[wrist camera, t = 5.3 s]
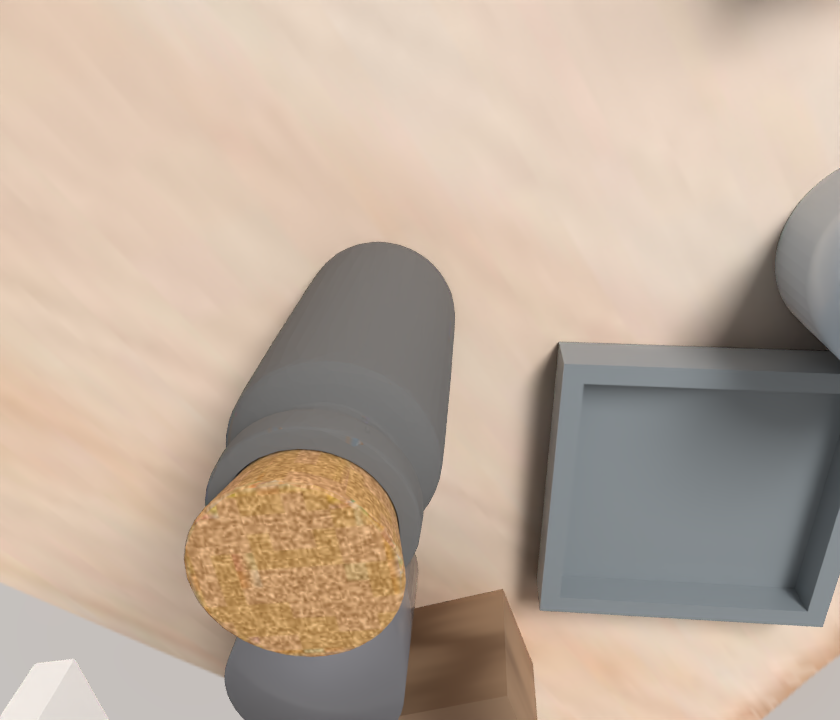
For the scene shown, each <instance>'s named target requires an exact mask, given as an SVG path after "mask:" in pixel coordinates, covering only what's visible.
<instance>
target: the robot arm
mask: <svg viewBox="0 0 840 720" xmlns="http://www.w3.org/2000/svg"><path fill="white" fill-rule="evenodd" d="M0 720H109V718H108V717H107V715H106V713H105V711H104V710H103V708H102V706H101V704H100V703H99V701H98V699H97V697H96V695H95V694H94V692H93V690H92V688H91V687H90V685H89V683H88V681H87V680H86V678H85V676H84V674H83V672H82V671H81V669H80V667H79V665H78V664H77V662H76V660H75V659H68V660H60V661H51V662H42V663H35V664H34V665H33V667H32V668H31V670H30V672H29V673H28V675H27V676H26V678H25V679H24V681H23V682H22V684H21V685H20V687H19V688H18V690H17V691H16V693H15V694H14V696H13V697H12V699H11V700H10V702H9V703H8V705H7V706H6V708H5V710H4V711H3V713H2V714H1V716H0Z"/></svg>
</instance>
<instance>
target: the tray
mask: <svg viewBox="0 0 840 720" xmlns="http://www.w3.org/2000/svg"><path fill="white" fill-rule="evenodd" d="M839 575H840V360H839V359H838V358H837V357H836V356H835V355H834V354H833V353H832V352H831V351H810V350H781V349H752V348H723V347H694V346H665V345H637V344H608V343H579V342H559V347H558V358H557V368H556V379H555V389H554V400H553V411H552V421H551V432H550V442H549V453H548V464H547V474H546V485H545V495H544V506H543V517H542V527H541V538H540V548H539V559H538V570H537V587H538V598H539V608H540V610H542V611H559V612H576V613H593V614H610V615H627V616H644V617H661V618H678V619H695V620H712V621H729V622H746V623H763V624H780V625H797V626H814V627H823V624H824V621H825V618H826V615H827V612H828V609H829V606H830V603H831V599H832V596H833V593H834V590H835V587H836V584H837V581H838V578H839Z"/></svg>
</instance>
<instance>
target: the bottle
mask: <svg viewBox="0 0 840 720" xmlns="http://www.w3.org/2000/svg"><path fill="white" fill-rule="evenodd" d="M454 325H455V312H454V303H453V299H452V295H451V292H450V289H449V287H448V285H447V283H446V282H445V280H444V278H443V276H442V275H441V273H440V272H439V271H438V270H437V269H436V267H435V266H434V265H433V264H432V263H431V262H429V261H428V260H427V259H426V258H424V257H423V256H422V255H420V254H418V253H417V252H415V251H413V250H411V249H409V248H406V247H403V246H401V245H396V244H391V243H386V242H370V243H364V244H359V245H356V246H353V247H350V248H348V249H346V250H344V251H342V252H340V253H338V254H337V255H335V256H334V257H333V258H332V259H331V260H329V261H328V262H327V263H326V264H325V265H324V266H323V267H322V269H321V270H320V271H319V272H318V274H317V275H316V277H315V278H314V279H313V281H312V282H311V284H310V285H309V287H308V288H307V290H306V291H305V293H304V294H303V296H302V298H301V299H300V301H299V302H298V304H297V305H296V307H295V309H294V310H293V312H292V313H291V315H290V316H289V318H288V320H287V321H286V323H285V324H284V326H283V327H282V329H281V330H280V332H279V334H278V335H277V337H276V338H275V340H274V341H273V343H272V345H271V346H270V348H269V350H268V351H267V353H266V355H265V356H264V358H263V359H262V361H261V363H260V364H259V366H258V368H257V369H256V371H255V372H254V374H253V376H252V377H251V379H250V381H249V382H248V384H247V385H246V387H245V389H244V390H243V392H242V394H241V396H240V398H239V400H238V402H237V404H236V405H235V407H234V409H233V411H232V414H231V417H230V420H229V424H228V429H227V434H226V449H225V450H224V452H223V454H222V455H221V457H220V459H219V460H218V462H217V464H216V466H215V468H214V470H213V472H212V474H211V476H210V479H209V482H208V485H207V489H206V497H205V508H204V509H203V510H202V512H201V513H200V514H199V516H198V517H197V518H196V519H195V521H194V523H193V525H192V527H191V529H190V531H189V533H188V536H187V540H186V545H185V554H184V562H185V569H186V574H187V579H188V581H189V583H190V586H191V588H192V590H193V592H194V594H195V596H196V598H197V600H198V601H199V603H200V604H201V605H202V607H203V608H204V609H205V610H206V612H207V613H208V614H209V615H210V616H211V617H212V618H213V619H214V620H215V621H216V622H218V623H219V624H220V625H221V626H222V627H223V628H224V629H226V630H227V631H229V632H231V633H232V634H234V635H235V636H237V637H238V638H240V639H242V640H244V641H246V642H248V643H250V644H252V645H254V646H257V647H260V648H262V649H265V650H268V651H272V652H276V653H280V654H285V655H292V656H305V657H318V656H328V655H333V654H339V653H342V652H346V651H350V650H352V649H354V648H357V647H359V646H361V645H363V644H365V643H367V642H368V641H370V640H372V639H373V638H374V637H376V636H377V635H379V634H380V633H381V632H382V631H383V630H384V629H385V628H386V627H387V626H388V625H389V623H390V622H391V621H392V620H393V618H394V616H395V615H396V613H397V612H398V610H399V608H400V605H401V603H402V600H403V596H404V591H405V584H406V576H405V569H406V567H407V566H408V564H409V563H410V561H411V560H412V558H413V556H414V553H415V551H416V549H417V546H418V543H419V538H420V532H421V526H422V520H423V511H424V509H425V508H426V507H427V505H428V504H429V502H430V500H431V498H432V496H433V495H434V493H435V490H436V487H437V485H438V482H439V479H440V474H441V469H442V462H443V454H444V445H445V434H446V423H447V413H448V402H449V391H450V380H451V367H452V354H453V341H454Z"/></svg>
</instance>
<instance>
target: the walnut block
mask: <svg viewBox="0 0 840 720" xmlns="http://www.w3.org/2000/svg"><path fill="white" fill-rule="evenodd" d="M398 720H537V710H536V698H535V686H534V674H533V663H532V661H531V658H530V656H529V653H528V651H527V648H526V646H525V643H524V641H523V638H522V636H521V633H520V631H519V628H518V626H517V623H516V621H515V618H514V616H513V613H512V611H511V608H510V606H509V603H508V601H507V598H506V596H505V593H504V591H503V589H501V590H497V591H492V592H487V593H483V594H478V595H474V596H469V597H465V598H460V599H456V600H451V601H446V602H442V603H437V604H433V605H428V606H424V607H419V608H414V616H413V625H412V633H411V642H410V651H409V660H408V669H407V678H406V687H405V696H404V705H403V708H402V712H401V714H400V716H399V718H398Z"/></svg>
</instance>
